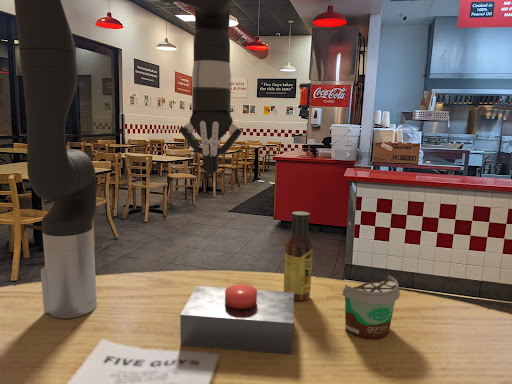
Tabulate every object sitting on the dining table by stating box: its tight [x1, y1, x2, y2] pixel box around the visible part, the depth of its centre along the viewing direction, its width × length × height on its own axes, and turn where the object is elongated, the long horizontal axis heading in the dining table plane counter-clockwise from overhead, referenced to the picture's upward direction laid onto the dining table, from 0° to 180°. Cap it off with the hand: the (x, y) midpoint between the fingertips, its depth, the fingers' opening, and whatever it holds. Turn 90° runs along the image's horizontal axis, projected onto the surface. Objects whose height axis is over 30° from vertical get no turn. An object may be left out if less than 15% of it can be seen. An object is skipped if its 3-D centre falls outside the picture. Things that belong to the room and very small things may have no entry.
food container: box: [342, 274, 401, 341], centre depth 75 cm, size 12×6×10 cm, turn 117°
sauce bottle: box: [283, 211, 314, 302], centre depth 89 cm, size 7×6×20 cm
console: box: [179, 285, 295, 355], centre depth 74 cm, size 20×12×6 cm, turn 85°
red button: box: [225, 284, 258, 309], centre depth 74 cm, size 6×6×7 cm
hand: (210, 173), depth 80 cm, fingers closed
